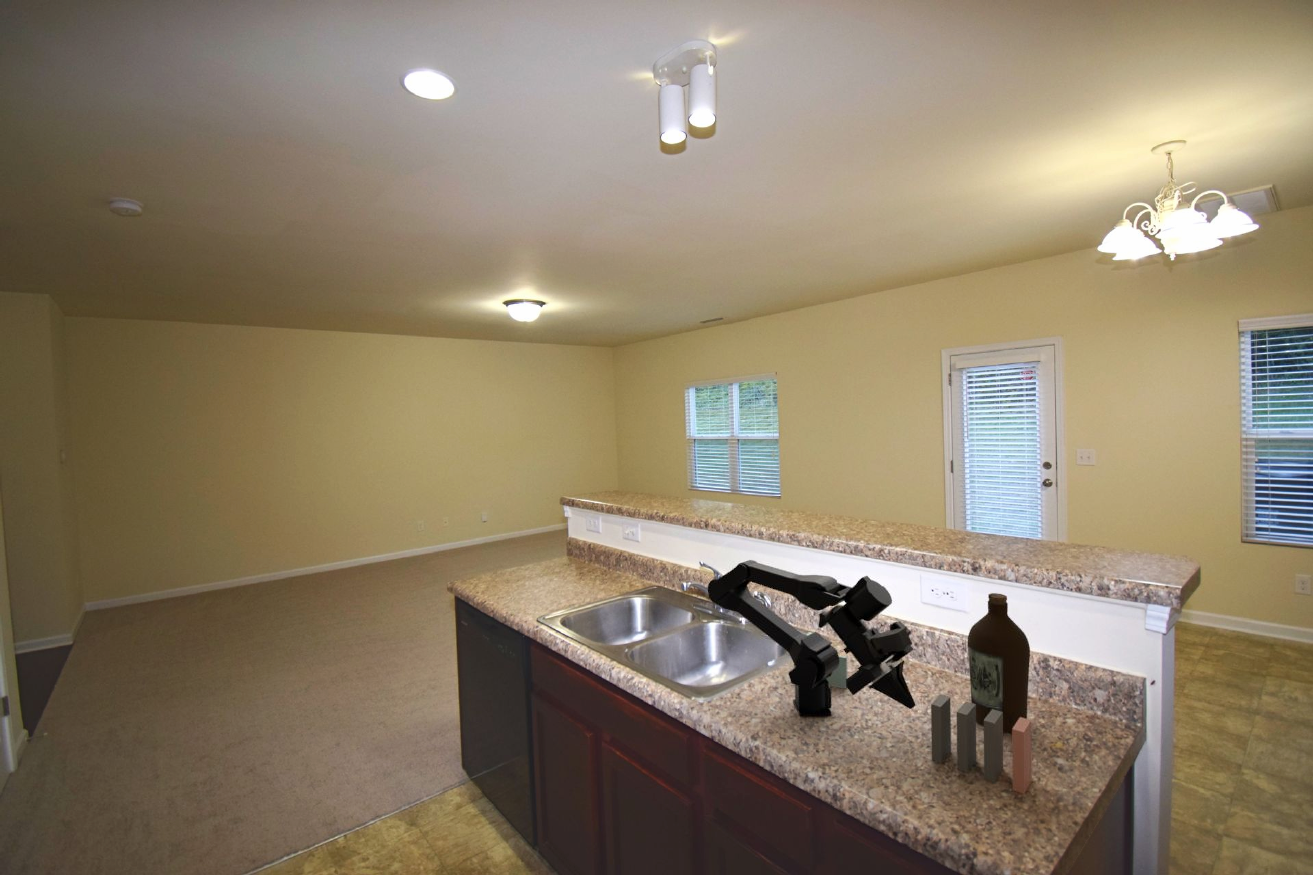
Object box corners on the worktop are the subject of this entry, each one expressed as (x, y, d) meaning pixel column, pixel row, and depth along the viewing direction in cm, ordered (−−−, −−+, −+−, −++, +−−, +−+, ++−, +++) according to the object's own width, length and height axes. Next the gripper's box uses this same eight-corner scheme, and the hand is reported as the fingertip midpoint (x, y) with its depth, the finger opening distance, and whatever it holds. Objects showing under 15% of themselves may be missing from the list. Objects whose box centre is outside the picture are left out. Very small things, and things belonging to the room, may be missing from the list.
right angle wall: (846, 691, 131) (846, 658, 131) (794, 680, 137) (793, 648, 137) (858, 670, 141) (858, 640, 141) (809, 661, 148) (809, 631, 147)
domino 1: (931, 759, 103) (931, 704, 103) (941, 748, 107) (941, 694, 107) (941, 763, 102) (940, 706, 102) (950, 751, 106) (950, 696, 106)
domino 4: (1012, 789, 95) (1012, 728, 94) (1020, 775, 98) (1020, 716, 98) (1024, 793, 94) (1023, 732, 93) (1031, 779, 97) (1031, 720, 97)
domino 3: (984, 779, 98) (983, 720, 97) (992, 765, 101) (992, 708, 101) (994, 783, 96) (994, 723, 96) (1003, 769, 100) (1002, 711, 100)
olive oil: (991, 703, 123) (990, 584, 122) (1043, 726, 113) (1042, 598, 113) (956, 715, 118) (955, 592, 118) (1006, 740, 109) (1005, 607, 108)
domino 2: (957, 769, 100) (956, 711, 100) (966, 756, 104) (965, 701, 104) (967, 773, 99) (966, 714, 99) (976, 760, 103) (975, 704, 103)
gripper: (860, 624, 104) (926, 704, 97) (902, 599, 118) (962, 668, 110) (821, 656, 110) (880, 735, 103) (865, 629, 123) (920, 697, 116)
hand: (913, 707), depth 108 cm, fingers closed
